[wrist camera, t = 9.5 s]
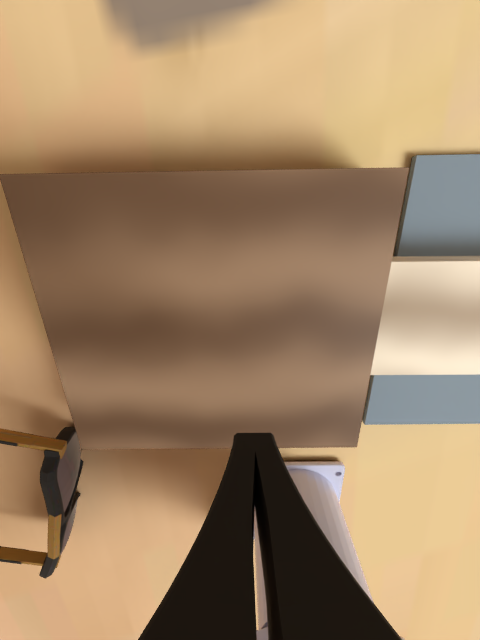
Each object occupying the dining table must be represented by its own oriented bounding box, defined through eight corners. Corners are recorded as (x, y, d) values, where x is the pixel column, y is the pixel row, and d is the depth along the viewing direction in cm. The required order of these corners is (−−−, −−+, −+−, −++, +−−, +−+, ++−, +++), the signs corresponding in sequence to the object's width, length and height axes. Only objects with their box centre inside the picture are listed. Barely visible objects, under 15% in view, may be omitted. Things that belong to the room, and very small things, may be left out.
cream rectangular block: (500, 358, 19) (529, 374, 17) (355, 359, 19) (368, 375, 17) (540, 255, 16) (580, 260, 14) (372, 256, 16) (390, 261, 14)
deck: (338, 410, 21) (356, 447, 17) (106, 413, 21) (81, 449, 18) (372, 178, 15) (409, 167, 12) (51, 183, 15) (-1, 174, 12)
